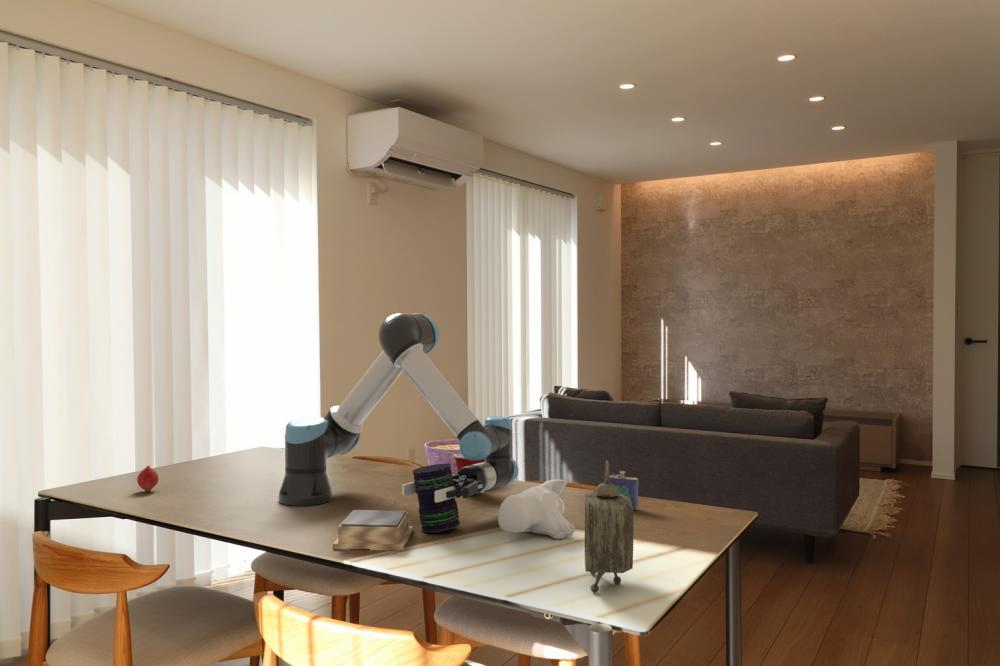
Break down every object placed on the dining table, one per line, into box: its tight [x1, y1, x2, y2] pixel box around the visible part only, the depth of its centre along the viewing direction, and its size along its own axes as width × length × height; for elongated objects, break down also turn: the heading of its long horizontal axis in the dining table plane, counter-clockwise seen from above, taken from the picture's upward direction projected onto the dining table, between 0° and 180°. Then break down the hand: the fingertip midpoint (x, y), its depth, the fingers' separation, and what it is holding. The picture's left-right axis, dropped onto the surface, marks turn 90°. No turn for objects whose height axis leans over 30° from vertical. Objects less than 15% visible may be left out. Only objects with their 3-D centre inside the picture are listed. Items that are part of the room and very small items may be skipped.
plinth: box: [332, 509, 414, 551], centre depth 181 cm, size 16×16×5 cm
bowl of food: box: [424, 439, 461, 475], centre depth 249 cm, size 20×20×12 cm
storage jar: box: [412, 464, 461, 533], centre depth 190 cm, size 10×10×15 cm
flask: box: [609, 470, 639, 511], centre depth 213 cm, size 9×3×11 cm, turn 68°
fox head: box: [497, 479, 576, 540], centre depth 187 cm, size 13×17×20 cm
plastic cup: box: [454, 454, 484, 496], centre depth 230 cm, size 11×11×12 cm
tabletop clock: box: [584, 459, 635, 594], centre depth 152 cm, size 14×9×25 cm, turn 175°
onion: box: [136, 464, 159, 492], centre depth 227 cm, size 6×6×8 cm
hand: (419, 493), depth 185 cm, fingers open, 10 cm apart
